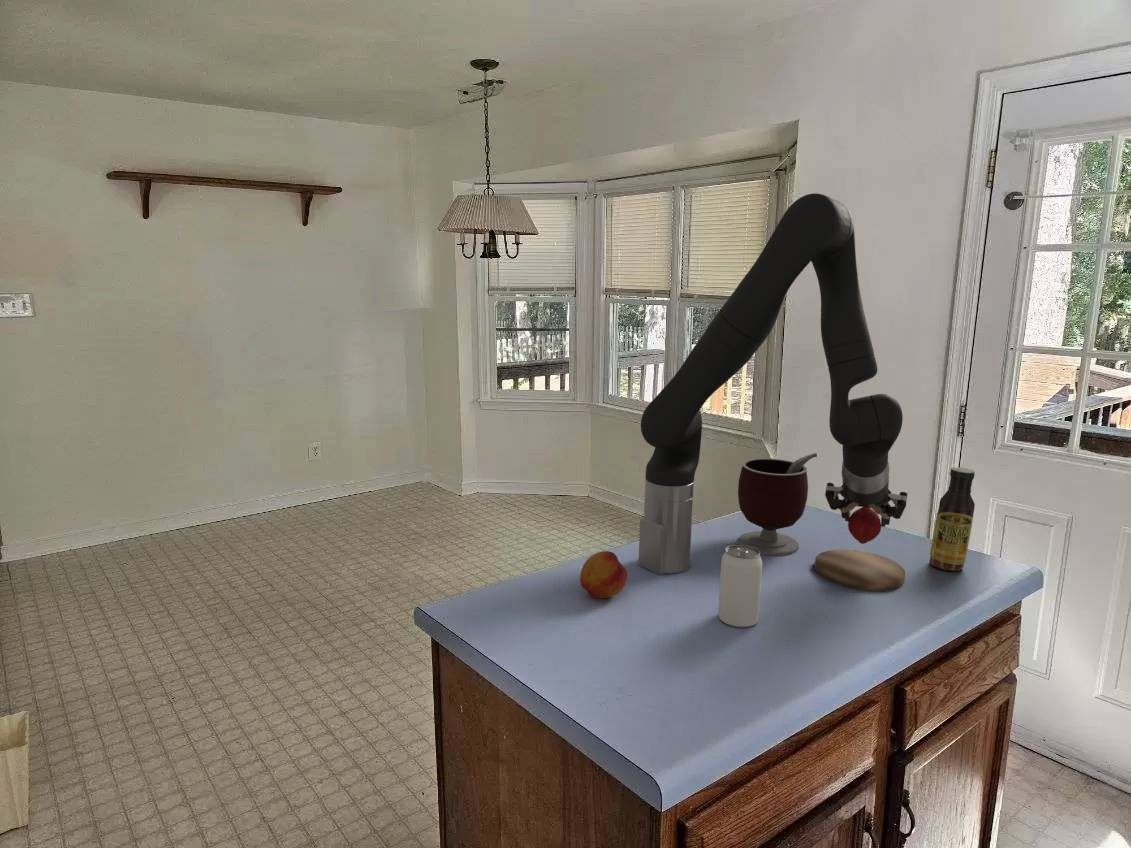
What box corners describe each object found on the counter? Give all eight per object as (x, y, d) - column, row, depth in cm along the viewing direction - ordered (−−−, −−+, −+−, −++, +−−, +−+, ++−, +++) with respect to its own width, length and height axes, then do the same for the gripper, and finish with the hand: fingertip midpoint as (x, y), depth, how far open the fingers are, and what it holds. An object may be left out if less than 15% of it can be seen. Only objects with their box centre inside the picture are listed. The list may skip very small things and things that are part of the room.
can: (759, 614, 121) (764, 546, 119) (756, 631, 115) (761, 561, 113) (720, 607, 124) (724, 541, 121) (715, 624, 118) (719, 555, 115)
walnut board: (876, 598, 128) (877, 590, 128) (798, 569, 140) (798, 561, 140) (920, 576, 138) (921, 568, 137) (843, 550, 150) (843, 543, 150)
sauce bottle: (929, 569, 141) (942, 471, 137) (927, 558, 146) (939, 463, 142) (967, 575, 138) (981, 475, 134) (963, 563, 144) (977, 467, 140)
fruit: (622, 608, 123) (624, 564, 121) (576, 603, 125) (576, 559, 123) (628, 589, 130) (630, 547, 129) (584, 584, 132) (585, 542, 130)
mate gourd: (743, 556, 146) (750, 460, 142) (727, 532, 159) (733, 444, 155) (820, 557, 146) (829, 461, 142) (797, 533, 160) (805, 445, 155)
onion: (884, 549, 135) (888, 508, 133) (853, 549, 135) (857, 507, 133) (871, 538, 140) (875, 498, 139) (841, 537, 140) (845, 498, 139)
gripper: (913, 461, 124) (909, 508, 137) (825, 451, 130) (829, 497, 143) (908, 498, 120) (904, 543, 133) (818, 487, 127) (822, 531, 140)
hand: (865, 519), depth 138 cm, fingers closed on onion, 5 cm apart
